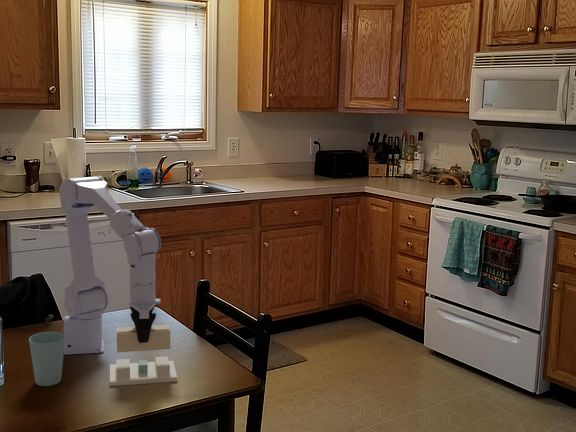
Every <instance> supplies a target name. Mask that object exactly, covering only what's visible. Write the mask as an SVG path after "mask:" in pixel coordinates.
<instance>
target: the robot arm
mask: <svg viewBox="0 0 576 432" xmlns="http://www.w3.org/2000/svg"><path fill="white" fill-rule="evenodd" d="M58 190H59V199H60V205H61V211H62V212H64V213H65V215H64V216H65V222H66V230H67V236H68V242H69V244H68V245H69V252H70V259H71V268H72V275H73V279H72V280H71V281H70V282H69V283H68V284H66V286H65V287H64V299H63V307H64V310H65V312H66V313H67V314H68V315H64V316H63V334H64V335H65V345H64V355H82V354H99V353H104V349H105V347H104V345H105V344H104V343H105V340H104V339H103V326H102V324H103V323H102V321H103V319H102V318H103V315H104V314H105V311H106V310H107V308H108V306H109V304H110V303H109V302H110V297H109V294H108V291H107V289H106V285H105V281H104V280H103V279H100V278H99V277H97V276H96V273H95V266H94V257H93V248H92V241H91V235H90V234H91V233H90V227H89V219H88V218H89V217H88V214H90V212H91V210H93V209H94V208H95V207H96V208H97V209H99V211H100V212H101V213H103V214H104V215H105V216H106V217H107V218H108V219H109V220H110V221H109V226H110V228H111V229H112V230H113V232H115V234H116V235H117V236H118V237H119V238H120V239H121V240H122V242H123V247H124V251H125V253H126V257H127V263H128V264H129V300H128V305H129V309H130V311H131V312H130V318H131V320H132V322H133V324H134V327H136V332H137V338H138V342H139V343H147V342H148V340H149V336H150V331H151V327H152V326H153V324H154V321H155V320H156V318H157V313H156V312H153V311H154V309H155V306H156V305H160V304H162V301H161V299H160V298H156V254H157V253H159V251H160V250H161V247H162V239H161V236H160V234H159V233H158V231H157V229H156V228H153V227H148V226H144V224H143V223H142V222H141V221H140V220H139V219H138V218H137V217H136V216H135V215H134V214H133V212H132V211H131V210H130V209H129V210H128V209H122V208H121V206H119V204H118V203H117V201H116V200H115V199H114V198H113V196H112V195H111V194H110V193H109V186H108V182H107V181H105V179H104V178H103V177H102V176H101V175H95V176H87V177H73V178H72V177H66V178H64V179H63V180H62V182H61V185H60V186H59V188H58Z"/></svg>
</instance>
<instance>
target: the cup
mask: <svg viewBox="0 0 576 432" xmlns="http://www.w3.org/2000/svg"><path fill="white" fill-rule="evenodd" d="M28 343H29V348H30V356H31V361H32V370H33V376H34V383H35V384H36V385H37V386H41V387H49V386H50V387H51V386H54V385H57V384H60V382H62V381H61V380H62V375H63V363H64V355H65V354H64V345H65V335H64V333H63V332H58V331H44V332H43V331H42V332H38V333H35V334H33V335H31V336H30V337H29V338H28Z"/></svg>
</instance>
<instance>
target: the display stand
mask: <svg viewBox="0 0 576 432" xmlns="http://www.w3.org/2000/svg"><path fill="white" fill-rule="evenodd" d="M173 382H175V383H176V382H178V374H177V371H176V366H175V362H174V360H169V356H168V355H167V356H166V355H165V356H155V357H154V361H148V360H147V359H142V360H137V362H131V363H130V358H122V359H121V358H120V359H119V358H118V359H116V360H115V363H113V364H109V386H110V387H114V386H127V385H129V386H130V385H142V384H143V385H144V384H146V385H147V384H157V383H158V384H159V383H173Z"/></svg>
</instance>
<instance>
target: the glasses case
mask: <svg viewBox="0 0 576 432" xmlns="http://www.w3.org/2000/svg"><path fill="white" fill-rule="evenodd" d="M159 350H171V327H170V324H159V325H158V324H157V325H152V327H151V331H150V336H149V340H148V342H147V343H139V342H138V338H137V332H136V327H135V326H125V327H124V326H121V327H116V352H117V353H127V352H128V353H130V352H143V351H144V352H145V351H159Z"/></svg>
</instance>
